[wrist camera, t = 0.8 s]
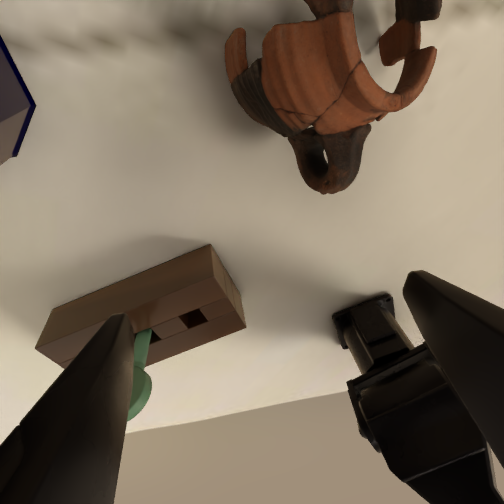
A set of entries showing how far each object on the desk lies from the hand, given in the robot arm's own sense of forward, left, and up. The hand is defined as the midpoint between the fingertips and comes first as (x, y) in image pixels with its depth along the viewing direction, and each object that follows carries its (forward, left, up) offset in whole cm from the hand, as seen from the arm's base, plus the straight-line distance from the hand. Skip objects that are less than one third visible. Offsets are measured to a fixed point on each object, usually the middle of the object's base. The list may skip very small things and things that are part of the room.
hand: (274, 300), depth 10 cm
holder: (-9, +12, -14) cm, 20 cm away
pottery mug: (+3, -6, -14) cm, 16 cm away
